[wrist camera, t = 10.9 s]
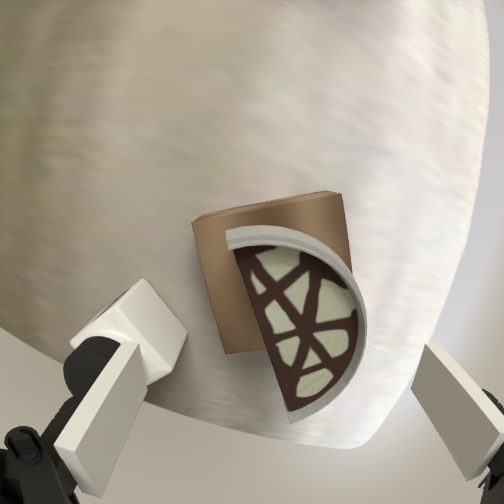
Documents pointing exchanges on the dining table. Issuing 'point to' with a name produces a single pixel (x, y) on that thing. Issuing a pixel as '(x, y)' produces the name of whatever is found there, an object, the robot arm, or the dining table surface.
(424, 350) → the robot arm
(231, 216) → the walnut block
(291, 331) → the food container
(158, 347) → the container
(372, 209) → the dining table surface
